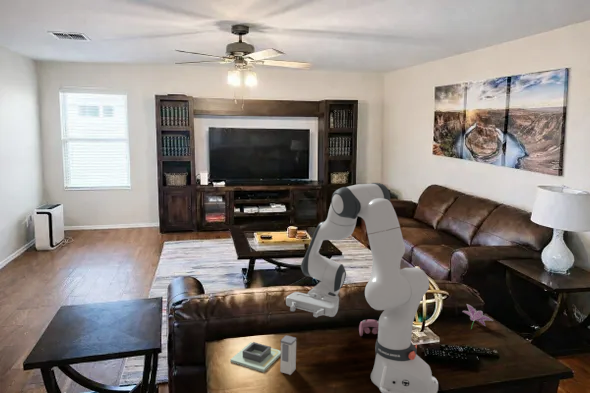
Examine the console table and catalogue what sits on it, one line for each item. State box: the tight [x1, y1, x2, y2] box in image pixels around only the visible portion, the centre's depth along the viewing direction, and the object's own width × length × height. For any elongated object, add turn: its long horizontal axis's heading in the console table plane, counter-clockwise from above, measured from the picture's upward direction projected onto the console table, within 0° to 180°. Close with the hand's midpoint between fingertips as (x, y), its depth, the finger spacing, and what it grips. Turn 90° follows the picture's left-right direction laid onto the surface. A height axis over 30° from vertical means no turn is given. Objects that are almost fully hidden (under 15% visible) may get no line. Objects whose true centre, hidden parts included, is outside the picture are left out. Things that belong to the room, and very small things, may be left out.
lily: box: [462, 303, 494, 330], centre depth 199 cm, size 12×12×10 cm
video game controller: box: [358, 319, 379, 337], centre depth 191 cm, size 10×5×7 cm, turn 84°
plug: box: [279, 334, 297, 376], centre depth 163 cm, size 4×5×12 cm
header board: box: [230, 341, 281, 373], centre depth 171 cm, size 14×14×4 cm
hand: (303, 312), depth 172 cm, fingers open, 8 cm apart
